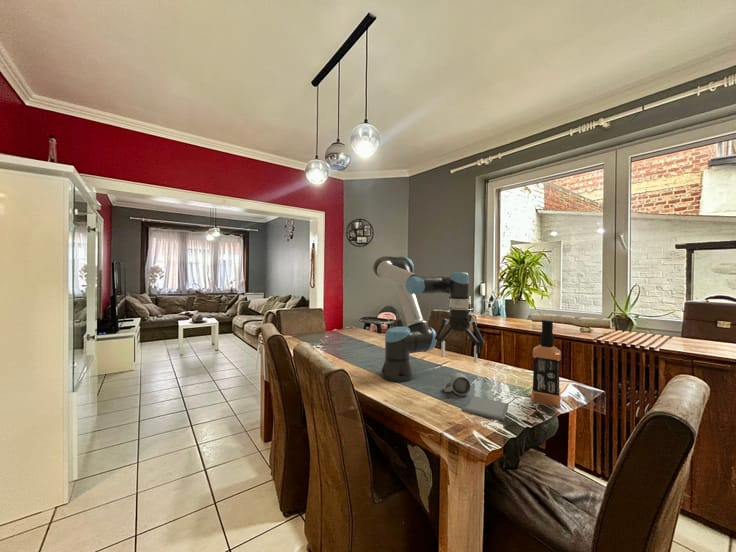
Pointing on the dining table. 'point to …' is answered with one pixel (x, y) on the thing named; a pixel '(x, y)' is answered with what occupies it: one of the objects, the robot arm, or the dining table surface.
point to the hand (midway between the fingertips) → (458, 359)
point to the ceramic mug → (458, 384)
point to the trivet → (486, 407)
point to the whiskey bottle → (546, 368)
